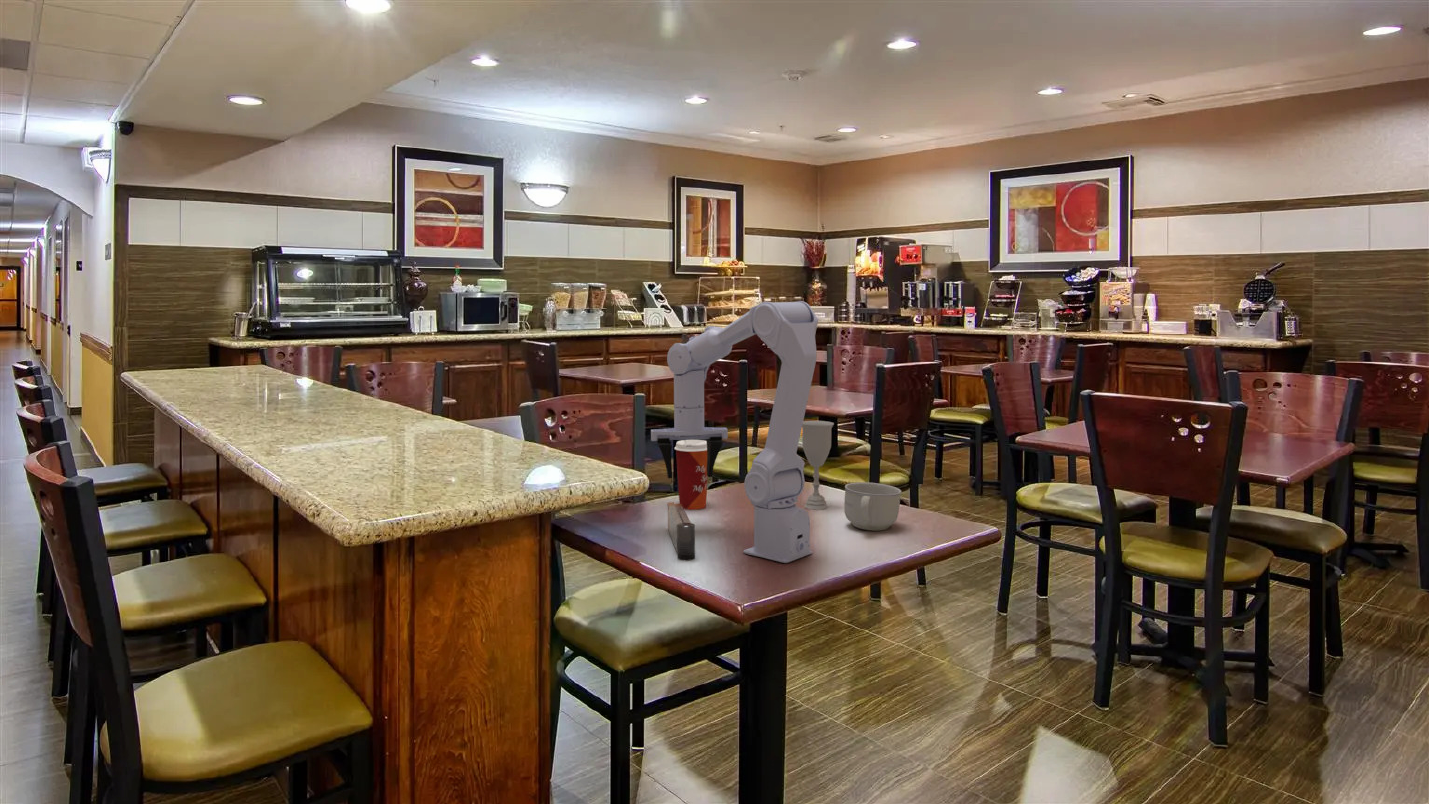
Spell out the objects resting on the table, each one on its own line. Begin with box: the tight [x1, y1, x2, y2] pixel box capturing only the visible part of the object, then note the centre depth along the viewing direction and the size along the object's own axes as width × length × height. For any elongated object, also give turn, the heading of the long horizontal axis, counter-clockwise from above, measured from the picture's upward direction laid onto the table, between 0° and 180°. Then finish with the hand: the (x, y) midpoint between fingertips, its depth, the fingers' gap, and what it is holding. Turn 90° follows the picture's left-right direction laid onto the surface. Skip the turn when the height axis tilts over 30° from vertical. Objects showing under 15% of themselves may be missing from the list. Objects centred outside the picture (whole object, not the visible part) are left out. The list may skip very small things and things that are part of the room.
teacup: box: [844, 481, 902, 532], centre depth 175 cm, size 14×11×8 cm
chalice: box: [801, 420, 835, 511], centre depth 192 cm, size 7×7×18 cm
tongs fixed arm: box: [674, 503, 696, 561], centre depth 166 cm, size 20×3×6 cm, turn 9°
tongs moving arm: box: [667, 501, 683, 554], centre depth 167 cm, size 17×1×5 cm, turn 8°
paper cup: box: [674, 439, 709, 511], centre depth 193 cm, size 8×8×14 cm
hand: (689, 476), depth 174 cm, fingers open, 7 cm apart
